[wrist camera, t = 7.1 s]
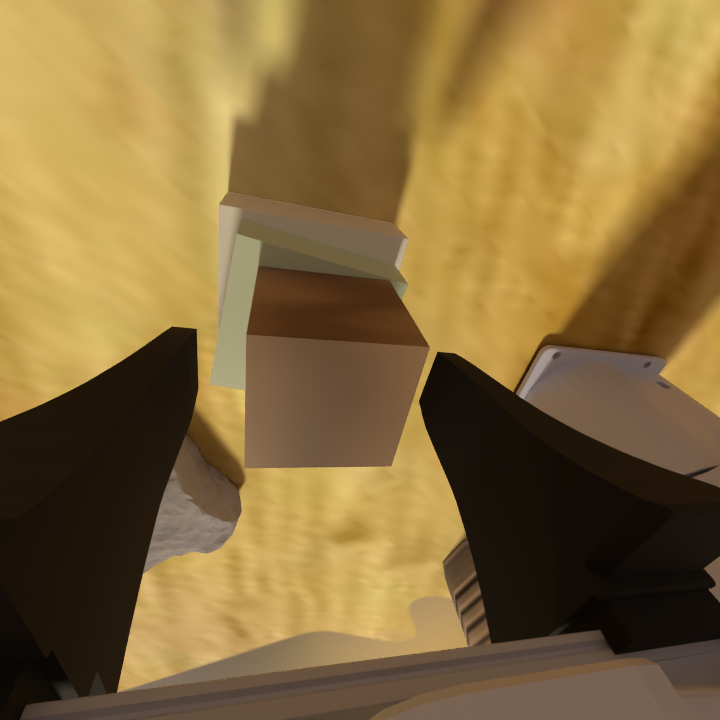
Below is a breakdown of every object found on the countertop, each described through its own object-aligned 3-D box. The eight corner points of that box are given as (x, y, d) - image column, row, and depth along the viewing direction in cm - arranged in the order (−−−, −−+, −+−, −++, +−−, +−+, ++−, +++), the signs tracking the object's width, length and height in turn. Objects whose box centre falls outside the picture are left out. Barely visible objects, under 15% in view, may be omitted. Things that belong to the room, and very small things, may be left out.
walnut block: (389, 280, 13) (430, 347, 9) (366, 381, 15) (391, 466, 12) (258, 266, 12) (245, 334, 8) (255, 376, 14) (244, 468, 11)
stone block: (-8, 447, 22) (94, 555, 26) (-86, 507, 17) (51, 626, 22) (180, 378, 22) (252, 497, 26) (148, 421, 17) (242, 556, 22)
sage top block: (394, 265, 15) (408, 284, 13) (347, 380, 18) (353, 408, 16) (242, 218, 13) (236, 233, 11) (217, 356, 16) (209, 384, 14)
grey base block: (390, 220, 17) (408, 238, 14) (358, 348, 20) (368, 381, 18) (229, 188, 15) (219, 204, 13) (226, 336, 19) (217, 370, 16)
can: (557, 508, 33) (671, 674, 23) (545, 566, 40) (629, 715, 30) (436, 542, 33) (500, 724, 23) (443, 595, 40) (496, 754, 30)
